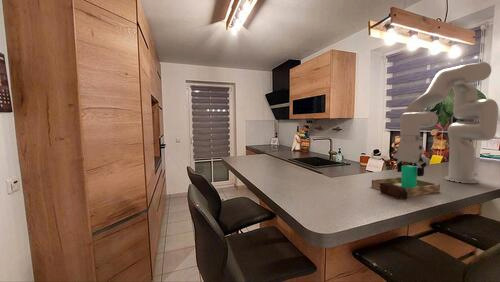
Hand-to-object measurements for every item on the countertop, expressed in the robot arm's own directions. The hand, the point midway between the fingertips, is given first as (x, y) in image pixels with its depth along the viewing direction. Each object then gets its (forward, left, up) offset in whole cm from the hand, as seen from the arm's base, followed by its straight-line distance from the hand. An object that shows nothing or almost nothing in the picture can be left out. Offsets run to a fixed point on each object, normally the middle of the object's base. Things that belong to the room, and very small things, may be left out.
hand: (409, 173), depth 101 cm
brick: (+16, +5, -8) cm, 19 cm away
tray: (+4, 0, -7) cm, 8 cm away
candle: (+1, 0, -7) cm, 7 cm away
